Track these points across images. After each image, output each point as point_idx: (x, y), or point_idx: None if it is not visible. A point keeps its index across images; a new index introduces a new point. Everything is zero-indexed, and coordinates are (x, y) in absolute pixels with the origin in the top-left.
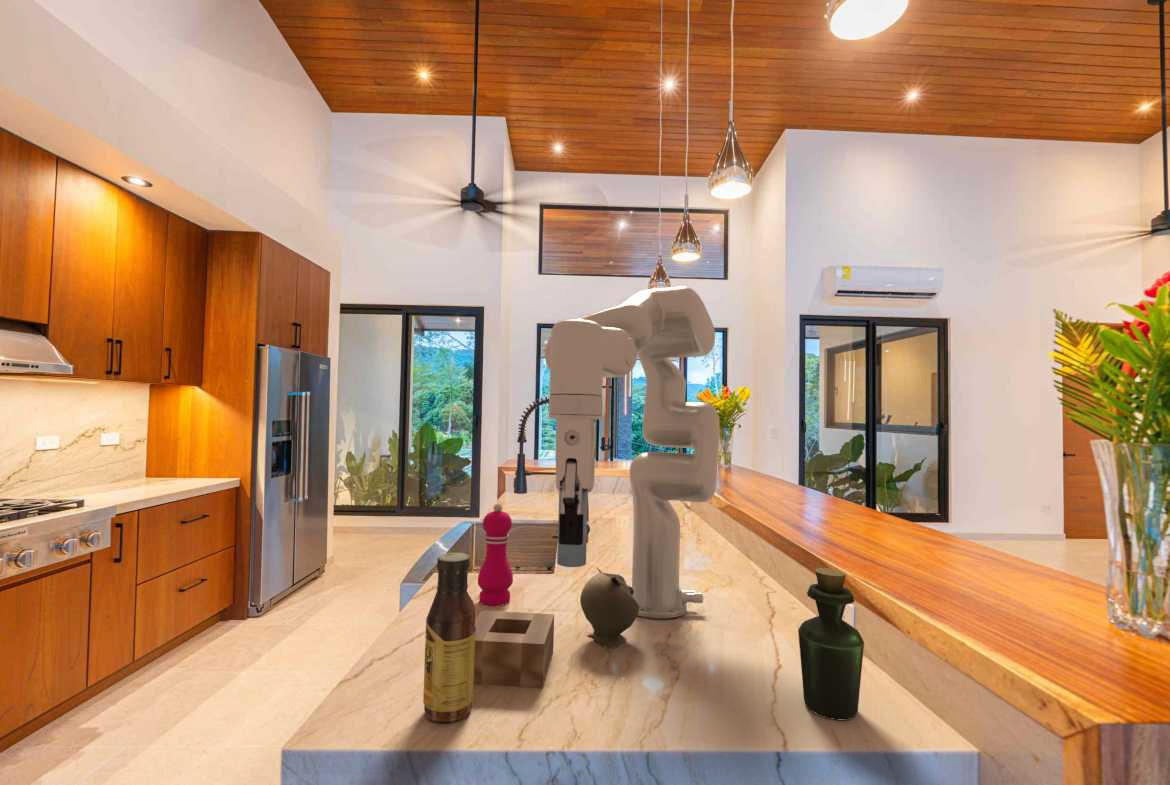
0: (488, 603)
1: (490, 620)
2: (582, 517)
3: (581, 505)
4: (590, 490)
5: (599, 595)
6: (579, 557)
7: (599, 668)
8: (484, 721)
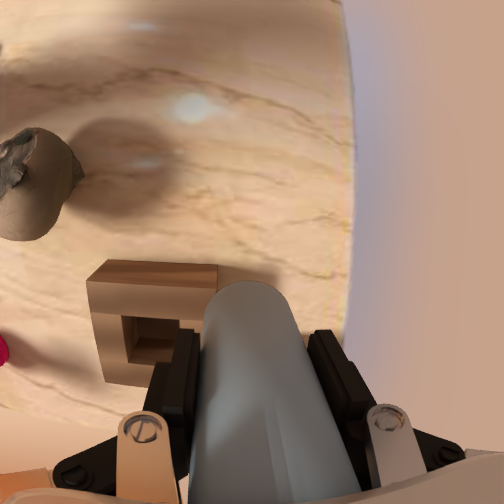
0: (7, 352)
1: (137, 369)
2: (364, 394)
3: (398, 438)
4: (498, 453)
5: (46, 206)
6: (290, 311)
7: (150, 187)
8: (298, 317)
